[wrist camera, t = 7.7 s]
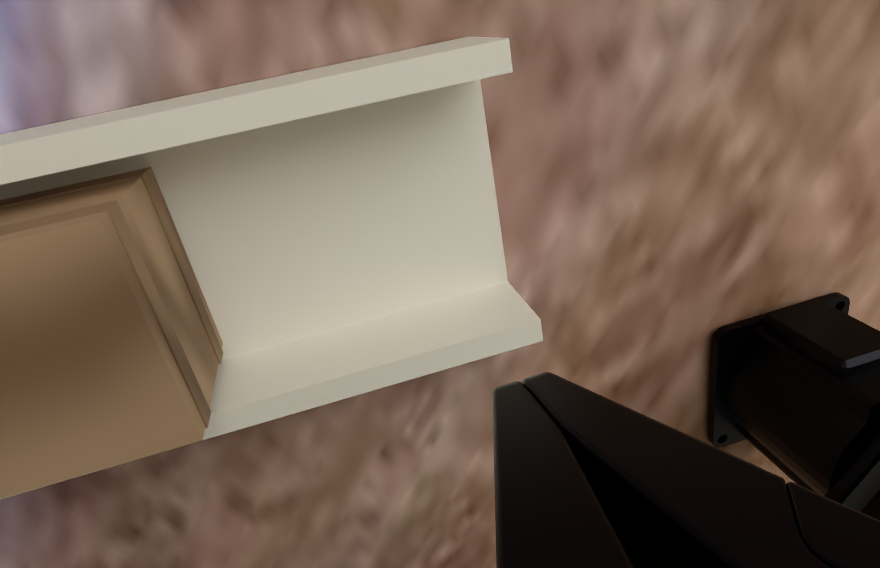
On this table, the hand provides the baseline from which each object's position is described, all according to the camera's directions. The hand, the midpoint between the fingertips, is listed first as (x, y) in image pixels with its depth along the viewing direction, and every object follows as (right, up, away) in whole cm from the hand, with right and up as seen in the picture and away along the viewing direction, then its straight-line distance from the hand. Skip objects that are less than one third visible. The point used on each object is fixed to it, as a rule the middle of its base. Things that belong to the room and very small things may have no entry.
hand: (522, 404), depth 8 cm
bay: (-8, +3, +10) cm, 13 cm away
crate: (-12, +2, +9) cm, 15 cm away
